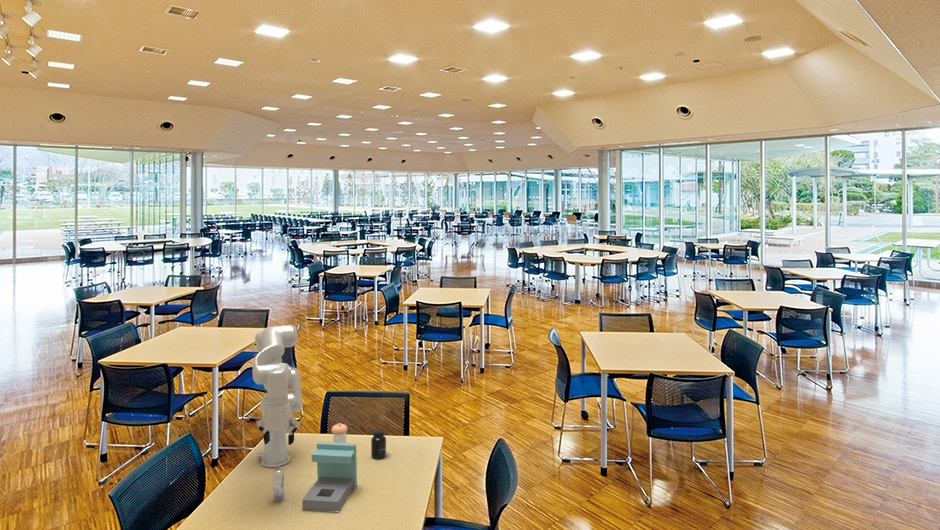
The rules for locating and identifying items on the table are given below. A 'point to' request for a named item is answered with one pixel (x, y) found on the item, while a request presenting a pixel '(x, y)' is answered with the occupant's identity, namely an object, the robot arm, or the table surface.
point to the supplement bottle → (378, 445)
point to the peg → (278, 485)
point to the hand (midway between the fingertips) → (279, 443)
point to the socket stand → (332, 476)
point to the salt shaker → (339, 433)
